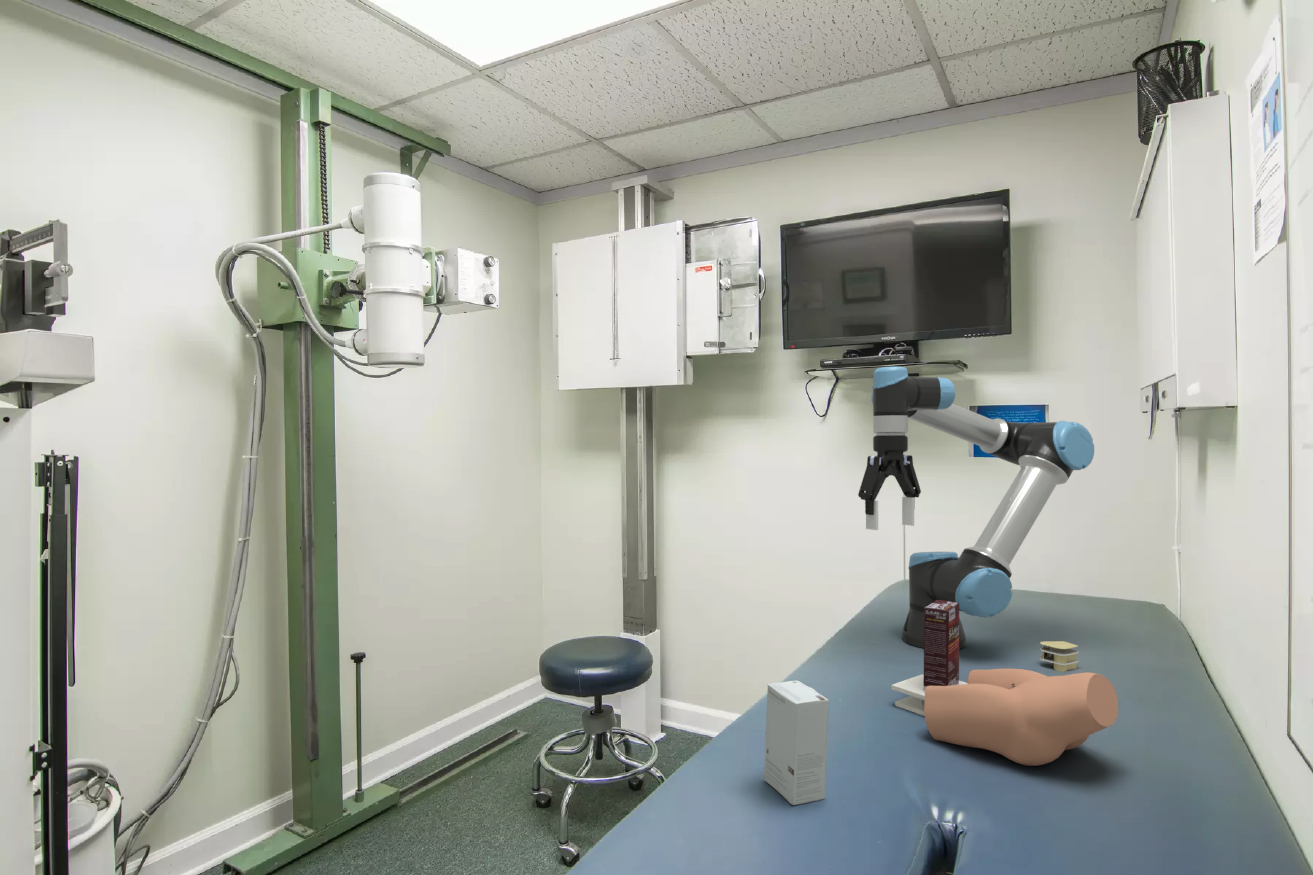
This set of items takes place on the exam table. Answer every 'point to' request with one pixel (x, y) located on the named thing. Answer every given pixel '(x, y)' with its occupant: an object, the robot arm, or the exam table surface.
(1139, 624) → the exam table surface
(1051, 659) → the beige layered block
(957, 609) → the supplement box
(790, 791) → the skincare box
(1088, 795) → the exam table surface
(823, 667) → the exam table surface
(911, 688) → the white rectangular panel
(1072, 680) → the medical training model
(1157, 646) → the exam table surface
